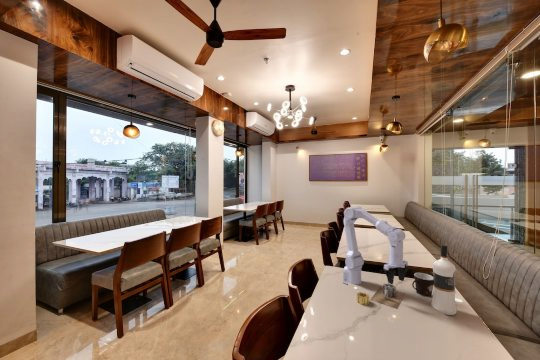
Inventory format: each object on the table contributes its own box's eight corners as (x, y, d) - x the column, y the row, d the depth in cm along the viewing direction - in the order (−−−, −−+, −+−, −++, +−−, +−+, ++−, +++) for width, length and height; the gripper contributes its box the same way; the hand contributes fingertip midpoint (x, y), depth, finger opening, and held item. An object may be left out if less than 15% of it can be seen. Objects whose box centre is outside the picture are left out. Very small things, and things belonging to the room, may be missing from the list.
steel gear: (384, 296, 116) (384, 287, 116) (382, 291, 121) (382, 282, 121) (396, 298, 114) (396, 289, 114) (394, 292, 119) (394, 284, 119)
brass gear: (354, 304, 110) (355, 295, 110) (359, 299, 115) (359, 290, 115) (367, 309, 107) (367, 299, 107) (370, 303, 111) (370, 294, 111)
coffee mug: (427, 291, 123) (427, 273, 123) (437, 300, 114) (438, 280, 114) (404, 290, 124) (405, 272, 124) (413, 299, 116) (413, 279, 115)
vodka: (436, 302, 112) (437, 241, 112) (459, 311, 105) (460, 246, 104) (427, 308, 107) (428, 244, 107) (451, 318, 99) (452, 249, 99)
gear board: (369, 302, 113) (369, 291, 112) (380, 288, 126) (380, 278, 126) (397, 311, 105) (397, 299, 105) (405, 296, 119) (405, 285, 118)
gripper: (393, 259, 106) (393, 288, 107) (413, 254, 112) (413, 282, 112) (380, 254, 113) (380, 281, 113) (400, 250, 119) (400, 276, 119)
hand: (395, 281), depth 113 cm, fingers open, 7 cm apart
